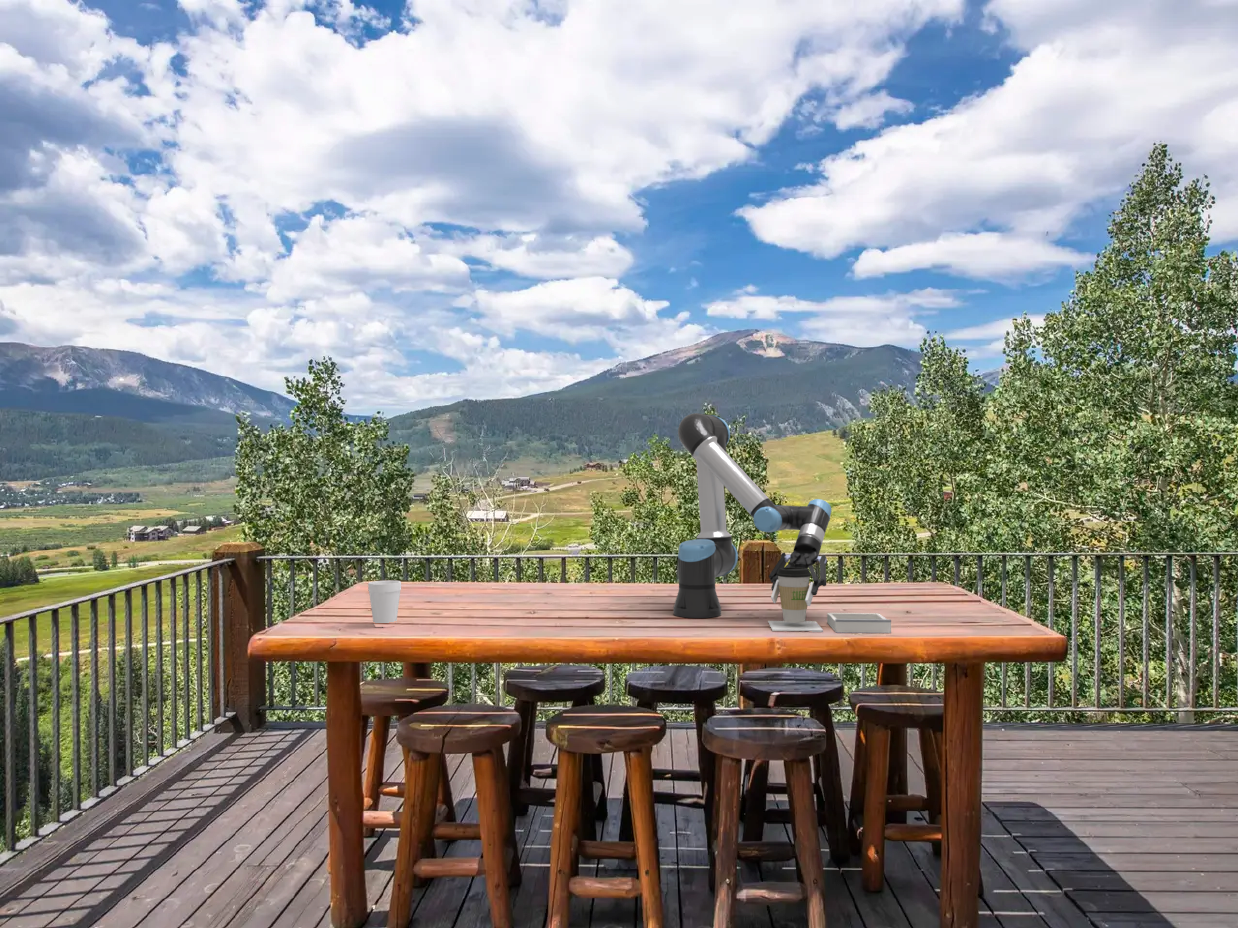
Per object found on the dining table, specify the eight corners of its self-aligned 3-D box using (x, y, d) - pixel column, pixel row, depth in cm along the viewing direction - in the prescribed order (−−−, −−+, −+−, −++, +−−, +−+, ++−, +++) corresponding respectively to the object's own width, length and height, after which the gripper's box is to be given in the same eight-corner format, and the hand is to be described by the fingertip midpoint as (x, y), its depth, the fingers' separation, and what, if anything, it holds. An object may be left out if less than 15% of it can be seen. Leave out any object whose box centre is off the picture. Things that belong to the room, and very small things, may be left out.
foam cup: (374, 630, 235) (374, 585, 236) (363, 625, 243) (363, 582, 243) (406, 626, 241) (405, 582, 241) (394, 622, 248) (394, 579, 249)
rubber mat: (772, 631, 228) (772, 629, 229) (768, 622, 242) (768, 620, 242) (823, 632, 227) (823, 629, 227) (815, 623, 241) (815, 621, 241)
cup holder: (836, 632, 226) (836, 619, 226) (827, 622, 241) (827, 610, 241) (891, 633, 225) (891, 620, 225) (878, 623, 240) (878, 611, 240)
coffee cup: (812, 624, 229) (811, 570, 229) (777, 623, 231) (776, 570, 231) (811, 618, 239) (810, 567, 239) (777, 617, 241) (776, 566, 241)
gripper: (848, 552, 242) (831, 612, 229) (777, 548, 254) (758, 606, 241) (842, 535, 238) (824, 596, 224) (771, 533, 250) (750, 590, 236)
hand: (790, 601), depth 232 cm, fingers closed on coffee cup, 10 cm apart
